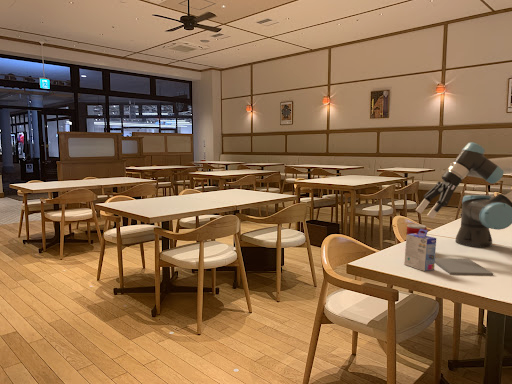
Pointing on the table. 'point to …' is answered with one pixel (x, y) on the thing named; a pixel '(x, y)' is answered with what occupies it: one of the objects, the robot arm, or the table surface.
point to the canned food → (415, 228)
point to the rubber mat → (461, 266)
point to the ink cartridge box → (420, 251)
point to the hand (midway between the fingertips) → (423, 214)
